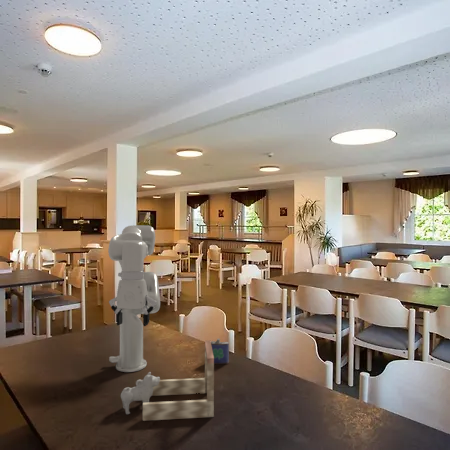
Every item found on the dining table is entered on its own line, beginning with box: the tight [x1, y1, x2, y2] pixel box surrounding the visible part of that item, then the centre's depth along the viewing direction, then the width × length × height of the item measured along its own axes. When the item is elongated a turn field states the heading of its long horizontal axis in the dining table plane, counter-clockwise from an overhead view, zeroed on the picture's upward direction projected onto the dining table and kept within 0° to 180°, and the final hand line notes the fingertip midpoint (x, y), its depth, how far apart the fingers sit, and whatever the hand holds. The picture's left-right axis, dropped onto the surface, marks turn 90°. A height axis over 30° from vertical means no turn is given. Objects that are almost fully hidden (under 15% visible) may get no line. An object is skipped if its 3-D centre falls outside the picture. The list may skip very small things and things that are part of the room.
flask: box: [211, 338, 230, 365], centre depth 150 cm, size 9×3×11 cm, turn 87°
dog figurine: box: [120, 371, 161, 415], centre depth 115 cm, size 5×13×11 cm, turn 119°
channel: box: [142, 339, 215, 422], centre depth 116 cm, size 22×16×19 cm
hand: (132, 324), depth 122 cm, fingers open, 9 cm apart
